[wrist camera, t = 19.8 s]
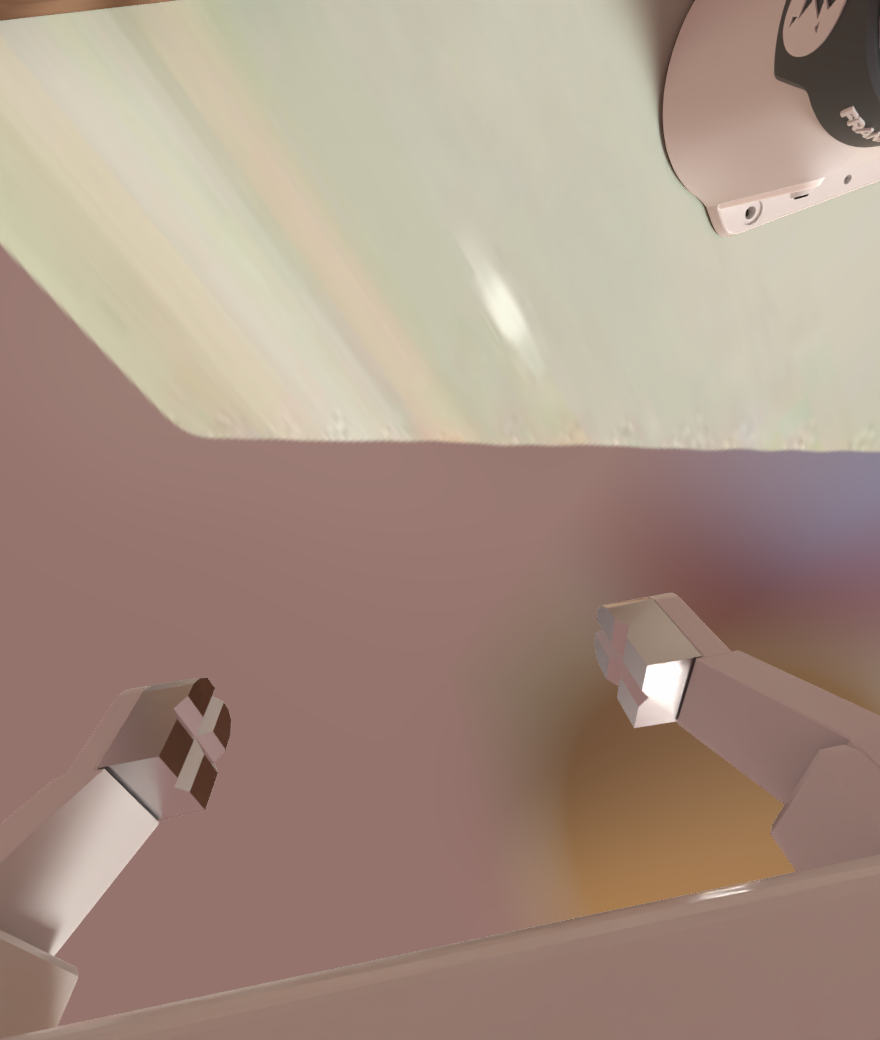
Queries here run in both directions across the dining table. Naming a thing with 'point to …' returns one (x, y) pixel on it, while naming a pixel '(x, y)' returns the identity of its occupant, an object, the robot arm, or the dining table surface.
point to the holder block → (59, 6)
